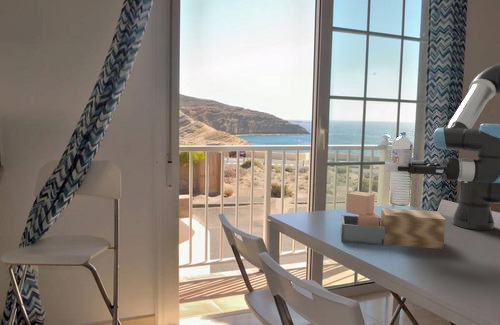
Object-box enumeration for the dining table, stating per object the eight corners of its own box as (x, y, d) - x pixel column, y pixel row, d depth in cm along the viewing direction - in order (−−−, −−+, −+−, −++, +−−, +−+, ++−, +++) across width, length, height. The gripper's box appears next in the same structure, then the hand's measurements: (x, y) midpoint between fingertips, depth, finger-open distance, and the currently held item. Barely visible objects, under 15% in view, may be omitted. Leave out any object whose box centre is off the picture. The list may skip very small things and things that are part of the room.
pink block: (377, 213, 154) (357, 211, 155) (379, 217, 147) (358, 216, 148) (376, 233, 155) (356, 231, 156) (378, 238, 148) (357, 237, 149)
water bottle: (411, 206, 143) (415, 132, 141) (389, 205, 145) (393, 132, 142) (408, 202, 150) (412, 132, 147) (387, 201, 152) (391, 131, 149)
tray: (379, 233, 157) (380, 217, 156) (383, 245, 142) (385, 227, 142) (340, 230, 159) (341, 214, 159) (341, 241, 145) (342, 224, 144)
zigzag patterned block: (435, 238, 152) (437, 211, 151) (443, 249, 140) (445, 219, 139) (379, 234, 155) (381, 207, 154) (383, 244, 144) (385, 215, 143)
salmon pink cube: (373, 212, 154) (374, 193, 154) (365, 215, 149) (367, 196, 148) (354, 209, 159) (355, 191, 158) (346, 212, 153) (347, 193, 153)
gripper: (464, 185, 133) (388, 181, 138) (449, 176, 152) (382, 173, 157) (466, 161, 132) (389, 158, 137) (451, 155, 152) (384, 153, 156)
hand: (386, 166), depth 147 cm, fingers closed on water bottle, 7 cm apart
